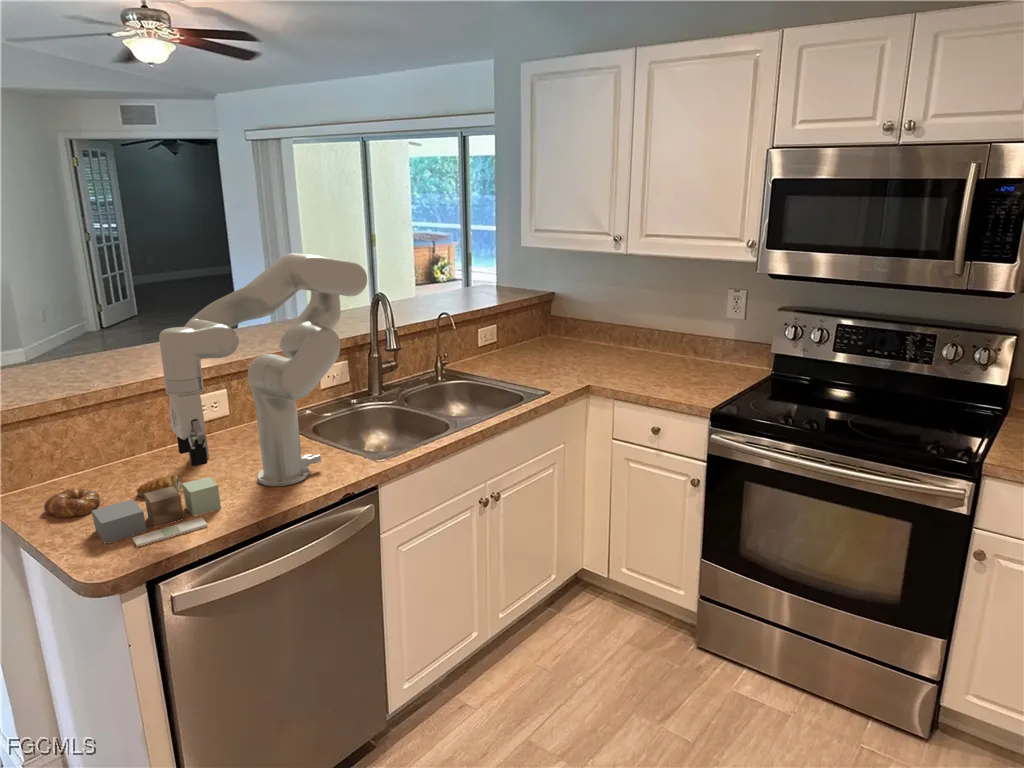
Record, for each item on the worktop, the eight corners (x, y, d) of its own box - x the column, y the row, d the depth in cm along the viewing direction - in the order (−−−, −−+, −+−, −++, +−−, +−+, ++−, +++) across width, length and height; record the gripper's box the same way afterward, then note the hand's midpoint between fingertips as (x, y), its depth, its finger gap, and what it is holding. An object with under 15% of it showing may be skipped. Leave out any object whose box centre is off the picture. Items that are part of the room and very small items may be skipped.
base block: (136, 519, 157) (132, 499, 156) (147, 532, 151) (143, 511, 150) (95, 531, 152) (91, 510, 150) (105, 545, 146) (101, 523, 145)
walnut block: (176, 510, 161) (172, 486, 159) (184, 519, 157) (180, 494, 155) (148, 518, 157) (143, 493, 156) (155, 528, 153) (150, 502, 151)
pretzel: (110, 508, 163) (108, 493, 162) (58, 526, 155) (54, 510, 154) (90, 494, 170) (87, 480, 169) (39, 510, 162) (35, 495, 161)
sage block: (213, 500, 166) (209, 476, 164) (221, 509, 161) (217, 485, 160) (186, 507, 162) (182, 483, 161) (193, 516, 158) (189, 492, 156)
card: (202, 519, 156) (201, 517, 156) (207, 526, 153) (207, 523, 153) (132, 540, 148) (132, 537, 148) (137, 547, 145) (136, 544, 145)
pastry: (136, 502, 166) (134, 487, 165) (139, 490, 172) (136, 476, 171) (180, 495, 169) (178, 480, 168) (181, 484, 175) (179, 470, 174)
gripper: (155, 379, 157) (165, 451, 162) (176, 396, 144) (186, 474, 149) (191, 374, 162) (199, 444, 167) (214, 390, 149) (222, 466, 154)
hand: (193, 458), depth 158 cm, fingers open, 9 cm apart
